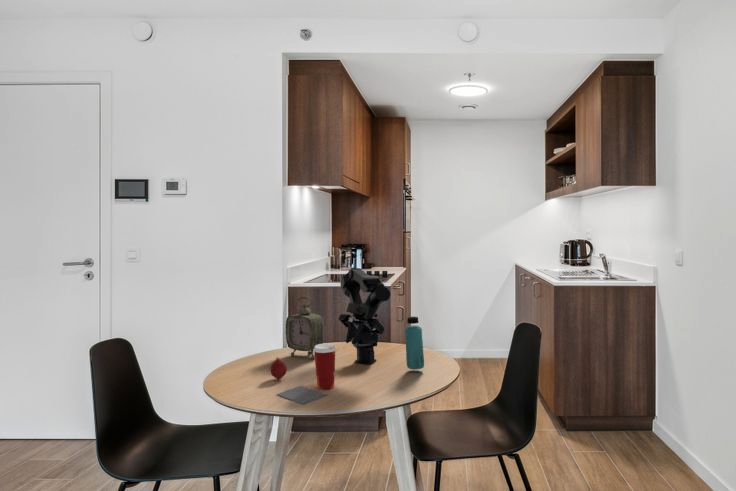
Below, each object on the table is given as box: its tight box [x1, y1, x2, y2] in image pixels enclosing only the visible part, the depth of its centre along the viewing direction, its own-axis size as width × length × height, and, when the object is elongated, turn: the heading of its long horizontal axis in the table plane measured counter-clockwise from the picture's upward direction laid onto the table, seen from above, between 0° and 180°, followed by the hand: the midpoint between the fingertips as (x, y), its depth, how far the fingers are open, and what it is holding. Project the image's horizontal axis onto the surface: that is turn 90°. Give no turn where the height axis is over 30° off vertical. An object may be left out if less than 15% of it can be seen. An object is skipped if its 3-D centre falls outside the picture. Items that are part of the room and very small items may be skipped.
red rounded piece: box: [269, 356, 288, 380], centre depth 166 cm, size 6×6×8 cm
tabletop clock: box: [285, 296, 325, 360], centre depth 195 cm, size 14×9×25 cm, turn 58°
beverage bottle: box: [404, 316, 425, 370], centre depth 171 cm, size 6×7×20 cm
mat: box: [276, 385, 328, 405], centre depth 150 cm, size 13×10×1 cm
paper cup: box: [313, 342, 337, 391], centre depth 157 cm, size 8×8×14 cm
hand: (349, 343), depth 165 cm, fingers open, 3 cm apart
